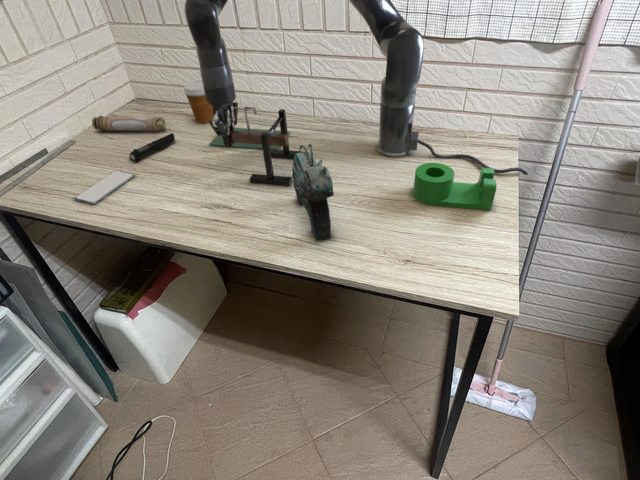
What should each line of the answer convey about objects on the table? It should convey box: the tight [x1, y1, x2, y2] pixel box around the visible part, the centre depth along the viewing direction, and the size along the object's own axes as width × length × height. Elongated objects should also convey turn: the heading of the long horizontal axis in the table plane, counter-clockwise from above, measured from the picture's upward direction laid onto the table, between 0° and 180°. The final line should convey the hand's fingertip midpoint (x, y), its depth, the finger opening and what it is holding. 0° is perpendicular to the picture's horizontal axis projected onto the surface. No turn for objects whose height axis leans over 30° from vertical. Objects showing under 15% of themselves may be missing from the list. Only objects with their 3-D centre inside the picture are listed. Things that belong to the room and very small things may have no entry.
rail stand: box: [249, 108, 305, 188], centre depth 114 cm, size 16×11×14 cm
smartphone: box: [74, 170, 135, 205], centre depth 115 cm, size 7×1×15 cm
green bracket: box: [412, 162, 497, 211], centre depth 102 cm, size 18×9×6 cm, turn 78°
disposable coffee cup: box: [183, 79, 214, 124], centre depth 143 cm, size 10×10×12 cm
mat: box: [208, 127, 290, 151], centre depth 133 cm, size 22×12×1 cm, turn 76°
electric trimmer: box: [128, 132, 176, 163], centre depth 130 cm, size 4×16×3 cm, turn 143°
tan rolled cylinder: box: [91, 115, 166, 132], centre depth 141 cm, size 6×25×5 cm, turn 82°
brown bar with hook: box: [230, 106, 289, 147], centre depth 112 cm, size 18×2×10 cm, turn 76°
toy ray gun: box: [291, 143, 335, 242], centre depth 93 cm, size 20×6×20 cm, turn 17°
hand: (230, 144), depth 117 cm, fingers closed on brown bar with hook, 2 cm apart
